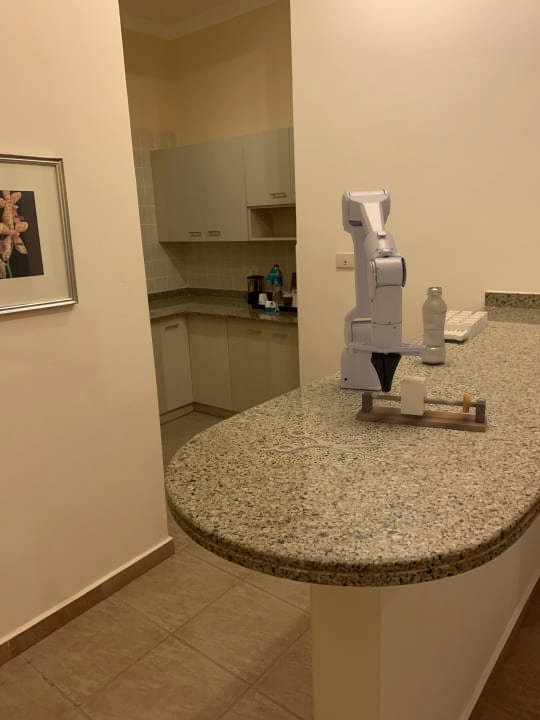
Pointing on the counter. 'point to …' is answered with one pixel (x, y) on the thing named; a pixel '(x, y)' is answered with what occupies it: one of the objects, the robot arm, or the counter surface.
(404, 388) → the tan wooden block
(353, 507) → the counter surface
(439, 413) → the rod base
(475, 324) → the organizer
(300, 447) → the scissors
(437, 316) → the plastic bottle
